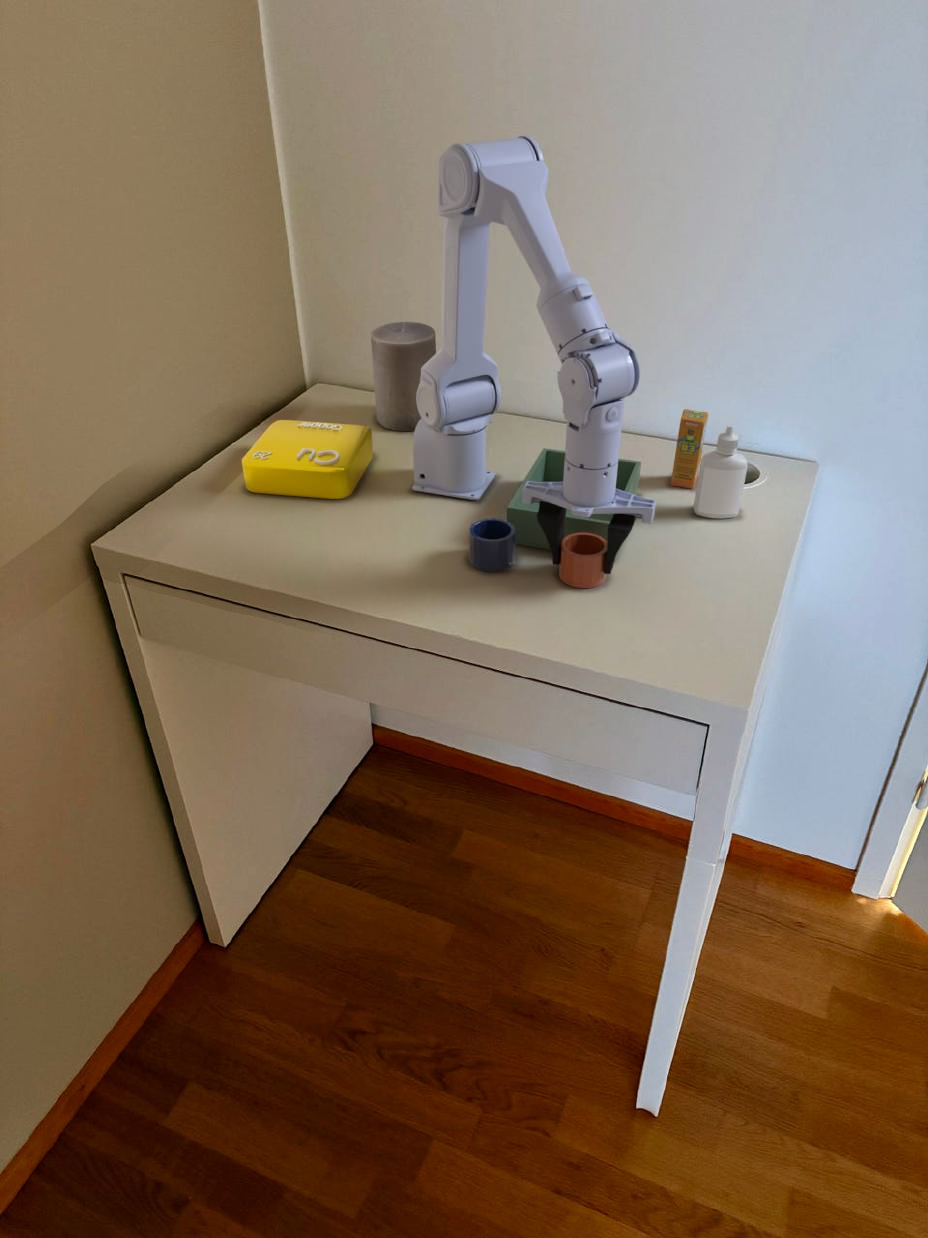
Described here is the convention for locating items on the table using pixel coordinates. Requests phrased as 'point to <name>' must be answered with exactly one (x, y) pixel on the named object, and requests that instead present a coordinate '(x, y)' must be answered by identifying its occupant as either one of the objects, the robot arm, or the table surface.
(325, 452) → the element tile
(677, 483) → the supplement box
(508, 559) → the navy cup
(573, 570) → the terracotta cup
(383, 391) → the pillar candle
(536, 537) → the sage tub
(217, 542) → the table surface
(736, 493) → the eye dropper bottle
